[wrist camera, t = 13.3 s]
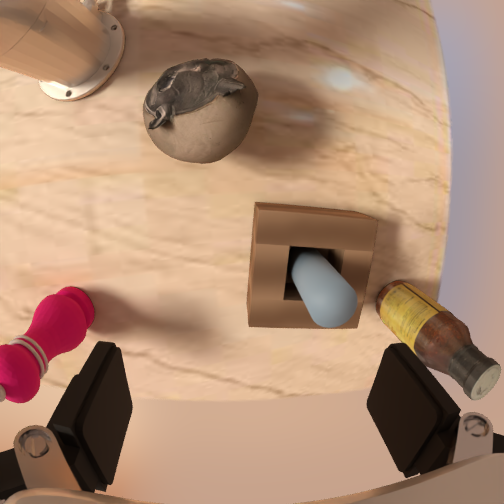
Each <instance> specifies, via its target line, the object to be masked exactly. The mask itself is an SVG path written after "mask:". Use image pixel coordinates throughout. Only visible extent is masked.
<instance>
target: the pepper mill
mask: <svg viewBox="0 0 504 504" xmlns="http://www.w3.org/2000/svg"><path fill="white" fill-rule="evenodd" d="M94 313H95V312H94V307H93V304H92V302H91V300H90V299H89V297H88V296H87V295H86V294H85V293H84V292H83V291H81V290H80V289H78V288H75V287H65V288H63V289H61V290H60V291H59V292H58V293H57V294H52V295H49V296H47V297H46V298H45V299H43V300H42V301H41V302H40V304H39V305H38V307H37V309H36V310H35V313H34V316H33V320H32V323H31V326H30V327H29V329H28V331H27V332H26V333H25V334H24V335H18V336H16V337H14V339H13V340H12V341H10V342H9V344H5V345H1V346H0V402H2V401H4V399H5V398H6V399H7V400H9V401H12V402H15V403H25V402H28V401H29V400H31V399H32V398H33V397H34V396H35V395H36V394H37V392H38V390H39V387H40V379H41V378H42V377H43V376H44V374H45V373H46V372H47V370H48V363H49V361H50V360H51V359H52V358H54V357H55V356H57V355H59V354H61V353H65V352H69V351H71V350H73V349H74V348H76V347H77V346H78V345H79V344H80V343H81V342H82V341H83V340H84V338H85V336H86V332H87V329H88V327H89V326H90V325H91V324H92V322H93V320H94Z"/></svg>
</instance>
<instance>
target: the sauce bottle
mask: <svg viewBox="0 0 504 504" xmlns="http://www.w3.org/2000/svg"><path fill="white" fill-rule="evenodd" d="M376 302H377V303H376V310H377V313H378V315H379V316H380V318H381V320H382V321H383V323H384V324H385V325H386V326H387V327H388V328H389V329H390V330H391V331H392V332H393V333H394V334H395V335H396V336H397V337H398V339H399V340H400V341H401V342H402V343H406V344H407V345H408V346H409V347H410V349H411V350H412V351H413V352H414V353H415V354H416V356H417V357H418V358H419V359H420V360H421V361H422V363H423V364H424V365H425V366H427V367H429V368H432V369H434V370H437V371H440V372H442V373H444V374H447V375H450V376H451V377H452V378H453V379H455V380H456V381H457V382H458V383H459V385H460V386H461V387H463V390H464V392H465V394H466V395H467V396H468V397H469V398H470V399H472V400H479V399H481V398H483V397H484V396H485V395H486V394H487V393H488V392H489V391H490V390H491V389H492V388H493V387H494V385H495V384H496V382H497V381H498V379H499V376H500V373H501V367H500V365H499V364H498V363H497V362H496V361H494V359H492V358H489V357H487V356H485V355H484V354H483V353H482V352H481V351H479V350H478V348H477V347H476V346H475V345H474V344H473V343H472V340H471V338H470V333H469V329H468V327H467V326H466V325H465V324H464V323H463V322H462V321H460V320H458V319H457V318H456V317H455V316H454V315H453V314H452V313H451V312H449V311H448V310H447V309H445V308H444V307H442V306H441V305H440V304H438V303H437V302H436V301H434V300H433V299H431V298H430V297H428V296H427V295H426V294H424V293H423V292H421V291H420V290H418V289H417V288H416V287H414V286H413V285H411V284H408V283H406V282H402V281H394V282H392V283H390V284H388V285H387V286H386V287H384V288H383V290H382V291H381V292H380V294H379V296H378V299H377V301H376Z"/></svg>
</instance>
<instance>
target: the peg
mask: <svg viewBox="0 0 504 504" xmlns="http://www.w3.org/2000/svg"><path fill="white" fill-rule="evenodd" d="M287 269H288V271H289V273H290V275H291V277H292V279H293V281H294V283H295V285H296V287H297V289H298V291H299V293H300V295H301V297H302V299H303V301H304V303H305V305H306V307H307V309H308V311H309V313H310V315H311V317H312V319H313V321H314V322H315V323H316V324H318V325H320V326H322V327H326V328H333V327H338V326H340V325H342V324H344V323H346V322H347V321H348V320H349V319H350V318H351V317H352V316H353V314H354V312H355V310H356V308H357V295H356V292H355V291H354V289H353V288H352V287H351V286H350V285H349V284H348V282H347V281H346V280H345V279H344V278H343V277H342V276H341V275H340V274H339V273H338V272H337V271H336V270H335V268H334V267H333V266H332V265H331V264H330V263H329V262H328V261H327V260H326V259H325V258H324V257H323V256H322V255H321V254H320V252H319V251H318V250H317V249H316V248H314V247H299V246H293V247H292V248H291V249H290V250H289V256H288V264H287Z"/></svg>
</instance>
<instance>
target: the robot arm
mask: <svg viewBox="0 0 504 504" xmlns="http://www.w3.org/2000/svg"><path fill="white" fill-rule="evenodd" d="M98 6H99V5H98V3H97V0H84V2H83V3H81V2H80V0H0V67H2V68H5V69H8V70H11V71H14V72H17V73H20V74H23V75H26V76H29V77H32V78H35V79H38V83H39V85H40V87H41V89H42V91H43V92H44V93H45V94H46V95H48V96H49V97H51V98H53V99H56V100H60V101H74V100H78V99H81V98H83V97H85V96H87V95H90V94H91V93H93V92H94V91H95V90H97V89H98V88H99V87H101V86H102V85H103V84H104V83H105V82H106V81H107V80H108V78H109V77H110V76H111V75H112V74H113V72H114V71H115V69H116V67H117V66H118V64H119V62H120V59H121V57H122V54H123V51H124V45H125V36H124V31H123V28H122V25H121V24H120V23H119V21H118V20H117V19H116V18H115V17H114V16H113V15H111V14H109V13H107V12H104V11H98ZM108 68H109V69H108ZM107 69H108V70H107ZM132 408H133V407H132V400H131V396H130V391H129V387H128V382H127V378H126V373H125V368H124V363H123V358H122V353H121V349H120V348H119V347H116V345H115V343H112V342H103V341H98V342H97V344H96V345H95V347H94V349H93V350H92V352H91V354H90V356H89V357H88V359H87V361H86V362H85V364H84V366H83V368H82V369H81V371H80V373H79V375H78V374H77V375H75V376H74V377H73V378H72V380H71V382H70V384H69V385H68V387H67V389H66V391H65V393H64V395H63V396H62V398H61V400H60V402H59V404H58V406H57V407H56V409H55V411H54V413H53V415H52V417H51V419H50V421H49V423H48V425H47V427H43V426H38V425H33V426H28V427H26V428H24V429H22V430H21V431H19V432H18V434H17V435H16V437H15V440H14V448H13V449H10V450H7V451H4V452H1V453H0V504H162V503H153V502H145V501H138V500H131V499H125V498H120V497H114V496H108V495H103V494H97V493H94V492H95V489H96V490H100V491H104V492H106V488H107V485H111V484H112V483H113V480H114V476H115V472H116V467H117V464H118V460H119V456H120V453H121V449H122V445H123V441H124V438H125V435H126V431H127V428H128V424H129V420H130V417H131V414H132ZM367 408H368V411H369V412H370V415H371V416H372V419H373V420H374V422H375V424H376V426H377V428H378V430H379V432H380V434H381V436H382V438H383V440H384V442H385V444H386V446H387V448H388V450H389V452H390V454H391V456H392V458H393V460H394V462H395V464H396V466H397V468H398V470H399V471H400V472H403V473H404V476H405V477H406V478H408V477H411V476H414V475H417V474H418V473H420V475H419V476H416V477H414V478H410V479H407V480H404V481H401V482H398V483H394V484H391V485H387V486H384V487H380V488H376V489H372V490H368V491H364V492H360V493H355V494H350V495H346V496H341V497H335V498H330V499H324V500H318V501H311V502H304V503H295V504H504V436H503V435H500V434H496V433H493V426H492V424H491V422H490V420H489V419H488V418H487V417H485V416H484V415H482V414H480V413H476V412H469V413H466V414H464V415H463V416H462V417H460V416H459V413H460V411H461V409H460V408H459V407H458V406H457V404H456V403H455V402H454V401H453V399H452V398H451V397H450V396H449V394H448V393H447V392H446V391H445V389H444V388H443V387H442V386H441V384H440V383H439V382H438V381H437V380H436V378H435V377H434V376H433V375H432V373H431V372H430V371H429V370H428V369H427V367H426V366H425V365H424V364H423V363H422V361H421V360H420V359H419V358H418V357H417V356H416V354H415V353H414V352H413V351H412V350H411V349H410V347H409V346H408V345H407V344H406V343H395V344H390V345H389V347H388V348H386V349H385V351H384V354H383V357H382V360H381V363H380V366H379V369H378V372H377V375H376V377H375V380H374V383H373V386H372V389H371V391H370V394H369V397H368V399H367Z"/></svg>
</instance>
